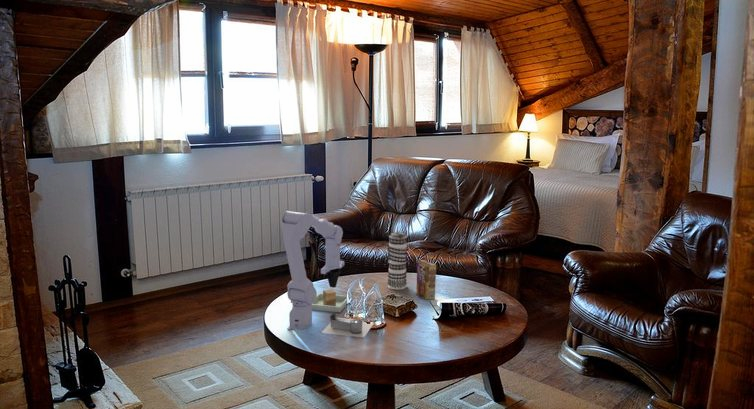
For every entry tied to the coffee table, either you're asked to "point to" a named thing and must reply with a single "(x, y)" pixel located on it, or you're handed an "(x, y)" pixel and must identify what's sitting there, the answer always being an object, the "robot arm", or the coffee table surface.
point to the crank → (346, 324)
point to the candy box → (426, 279)
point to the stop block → (329, 297)
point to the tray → (319, 305)
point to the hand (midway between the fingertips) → (332, 286)
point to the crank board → (337, 331)
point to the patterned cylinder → (397, 261)
